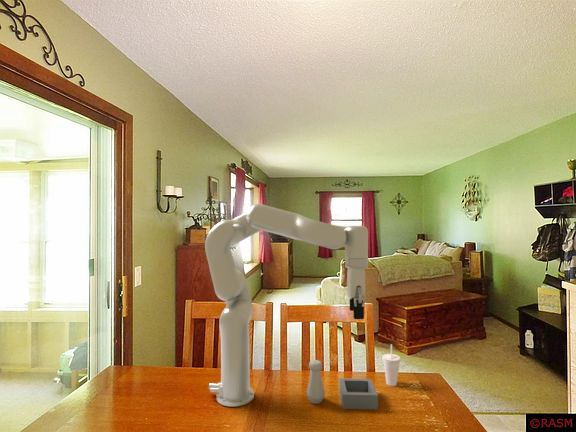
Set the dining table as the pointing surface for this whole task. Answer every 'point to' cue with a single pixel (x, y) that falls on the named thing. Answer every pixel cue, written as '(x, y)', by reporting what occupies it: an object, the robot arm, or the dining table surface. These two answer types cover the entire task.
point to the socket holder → (358, 394)
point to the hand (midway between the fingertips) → (356, 314)
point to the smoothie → (391, 368)
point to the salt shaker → (315, 383)
